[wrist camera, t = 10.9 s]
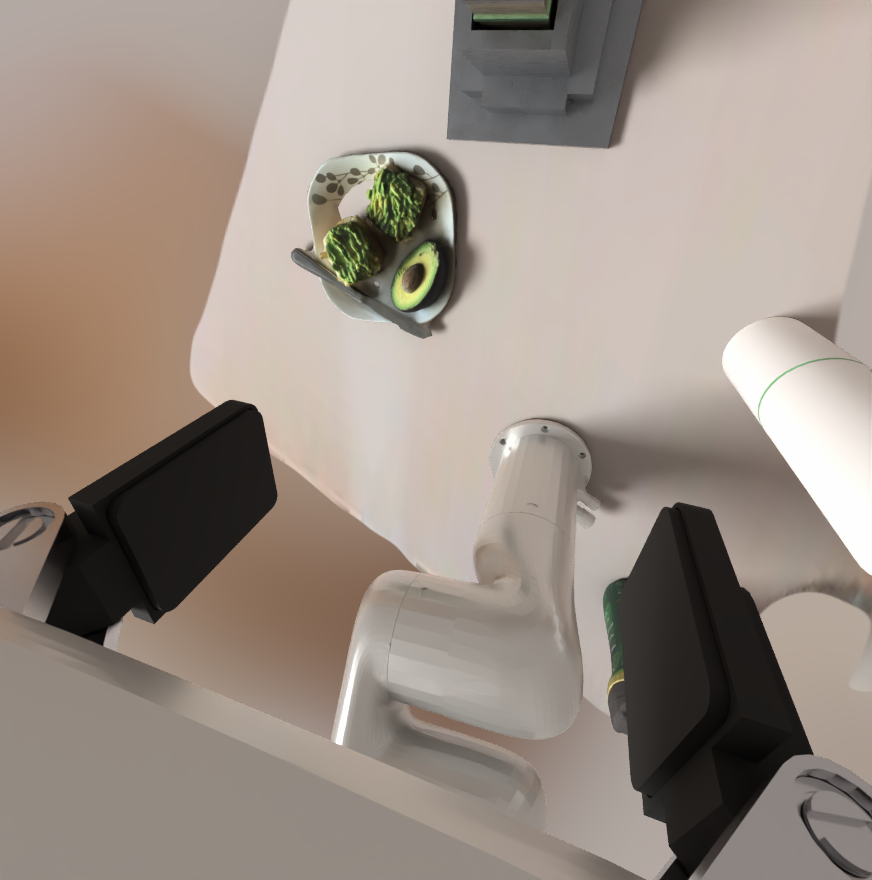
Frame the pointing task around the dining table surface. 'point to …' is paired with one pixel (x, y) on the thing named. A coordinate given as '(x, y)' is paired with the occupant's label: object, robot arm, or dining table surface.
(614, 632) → the coffee jar
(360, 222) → the salad plate
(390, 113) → the dining table surface
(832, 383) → the cylindrical container
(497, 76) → the stand
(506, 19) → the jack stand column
